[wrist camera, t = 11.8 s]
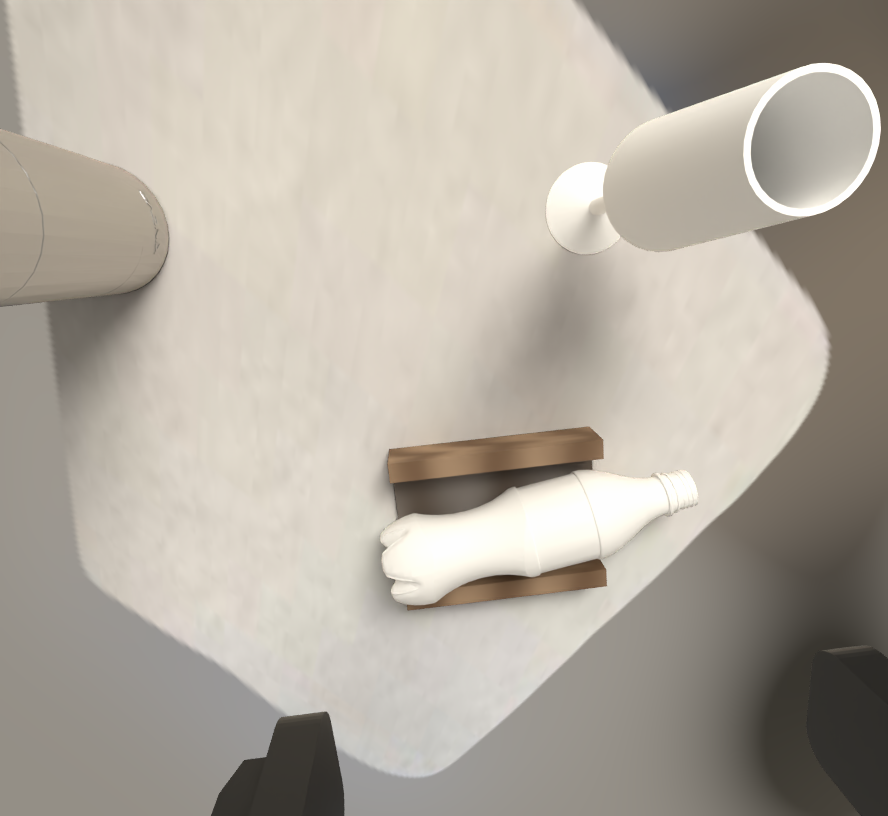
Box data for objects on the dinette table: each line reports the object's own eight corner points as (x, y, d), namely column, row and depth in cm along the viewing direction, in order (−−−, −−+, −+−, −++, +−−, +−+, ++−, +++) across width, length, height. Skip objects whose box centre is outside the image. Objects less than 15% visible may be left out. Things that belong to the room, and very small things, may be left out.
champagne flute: (643, 173, 41) (943, 57, 18) (617, 263, 43) (861, 265, 19) (558, 152, 40) (755, 2, 17) (535, 244, 42) (687, 222, 19)
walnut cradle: (408, 586, 49) (407, 610, 46) (389, 449, 46) (387, 464, 42) (593, 564, 49) (606, 586, 46) (589, 426, 46) (603, 439, 43)
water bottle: (404, 610, 46) (690, 535, 46) (388, 615, 39) (724, 527, 39) (387, 526, 48) (659, 454, 48) (369, 518, 42) (686, 434, 41)
